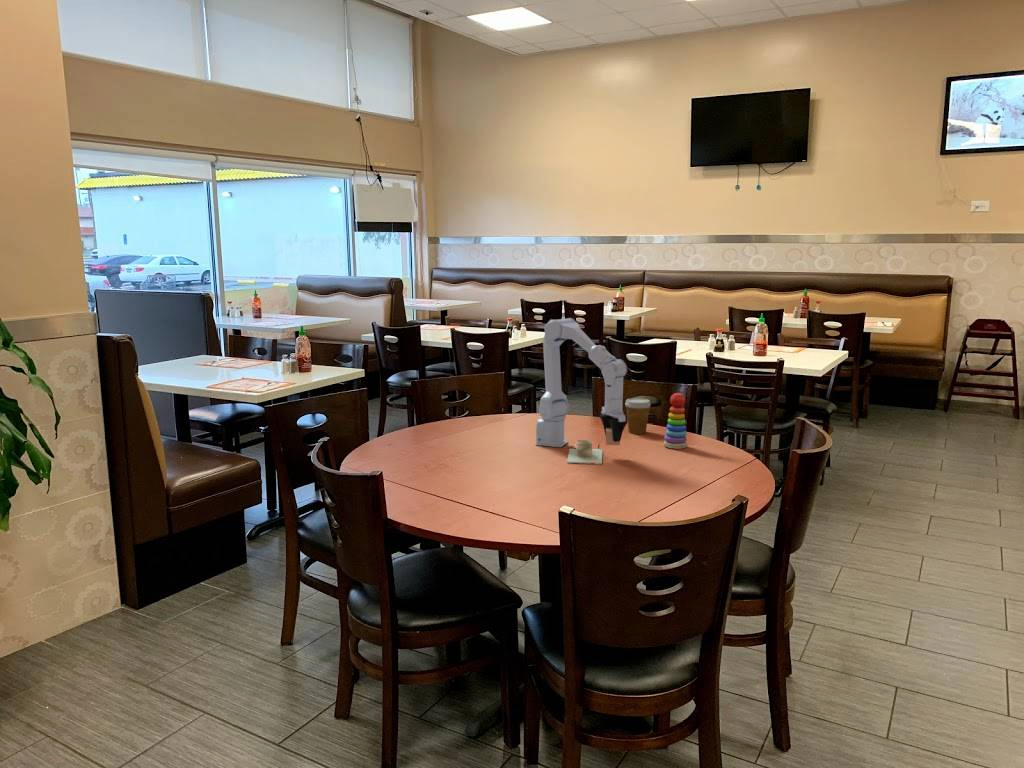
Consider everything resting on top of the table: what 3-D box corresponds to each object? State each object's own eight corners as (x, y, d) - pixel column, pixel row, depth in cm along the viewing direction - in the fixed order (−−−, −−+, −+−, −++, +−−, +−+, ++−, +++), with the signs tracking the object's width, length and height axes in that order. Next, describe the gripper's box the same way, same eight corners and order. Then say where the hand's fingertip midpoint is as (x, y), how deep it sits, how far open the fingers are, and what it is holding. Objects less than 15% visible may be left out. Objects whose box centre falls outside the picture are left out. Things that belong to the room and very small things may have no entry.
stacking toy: (687, 450, 257) (689, 395, 254) (663, 449, 259) (665, 395, 255) (687, 444, 265) (689, 391, 262) (663, 443, 266) (665, 390, 263)
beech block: (578, 457, 247) (578, 443, 246) (577, 453, 251) (577, 440, 251) (592, 457, 247) (592, 443, 246) (591, 453, 251) (591, 440, 250)
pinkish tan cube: (605, 444, 246) (606, 431, 245) (605, 441, 250) (605, 427, 249) (619, 445, 245) (620, 431, 244) (619, 441, 249) (619, 428, 249)
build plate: (567, 463, 242) (567, 461, 242) (569, 450, 258) (569, 448, 258) (601, 464, 241) (602, 462, 241) (602, 451, 256) (602, 449, 256)
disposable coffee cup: (619, 430, 285) (619, 399, 283) (640, 428, 289) (641, 397, 287) (633, 436, 276) (634, 403, 274) (655, 433, 280) (656, 401, 278)
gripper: (593, 394, 251) (592, 434, 253) (611, 402, 237) (610, 445, 239) (613, 393, 253) (612, 432, 255) (631, 401, 239) (630, 443, 241)
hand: (612, 438), depth 247 cm, fingers closed on pinkish tan cube, 6 cm apart
